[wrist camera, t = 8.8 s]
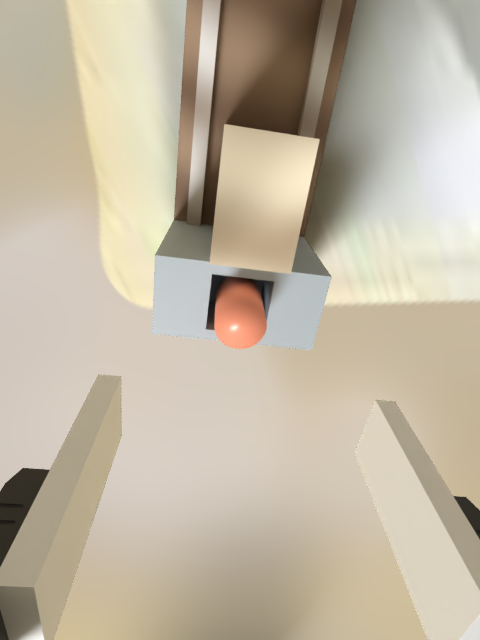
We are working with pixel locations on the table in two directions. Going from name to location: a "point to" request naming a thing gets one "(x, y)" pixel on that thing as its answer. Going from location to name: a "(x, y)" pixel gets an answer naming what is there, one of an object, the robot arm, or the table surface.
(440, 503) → the robot arm
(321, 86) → the rail bed
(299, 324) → the cabinet
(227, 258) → the carriage
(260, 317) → the button
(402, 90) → the table surface
